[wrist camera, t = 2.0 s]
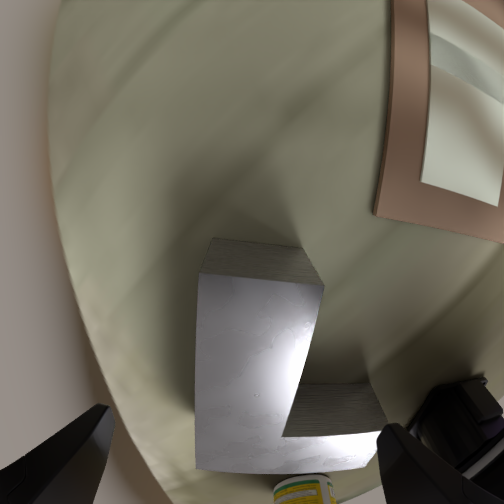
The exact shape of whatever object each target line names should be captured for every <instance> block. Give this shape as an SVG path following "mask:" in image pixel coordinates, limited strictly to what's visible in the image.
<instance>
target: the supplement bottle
mask: <svg viewBox="0 0 504 504" xmlns="http://www.w3.org/2000/svg"><path fill="white" fill-rule="evenodd" d="M274 504H336V499H335V494H334V490H333V486H332V482H331V480H330V479H329V478H328V477H326V476H323V475H303V476H296V477H292V478H288V479H286V480H284V481H282V482H280V483H279V484H277V485H276V487H275V488H274Z"/></svg>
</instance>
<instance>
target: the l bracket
mask: <svg viewBox="0 0 504 504" xmlns="http://www.w3.org/2000/svg"><path fill="white" fill-rule="evenodd" d="M323 290H324V284H323V282H322V280H321V279H320V277H319V275H318V273H317V272H316V270H315V268H314V266H313V265H312V263H311V261H310V259H309V258H308V256H307V254H306V253H305V251H304V249H303V248H296V247H287V246H278V245H270V244H261V243H252V242H243V241H234V240H225V239H216V238H213V239H212V242H211V244H210V247H209V249H208V251H207V254H206V256H205V259H204V261H203V264H202V266H201V269H200V271H199V281H198V300H197V322H196V353H195V457H196V469H202V470H210V471H220V472H232V473H249V474H301V473H318V472H330V471H339V470H348V469H355V468H362V467H365V466H366V464H367V463H368V462H369V460H370V459H371V458H372V456H373V455H374V454H375V452H376V451H377V446H376V440H377V437H378V435H379V434H380V432H381V431H382V429H383V428H384V426H385V425H386V424H389V423H388V421H387V418H386V416H385V414H384V412H383V410H382V408H381V405H380V403H379V401H378V399H377V397H376V395H375V393H374V391H373V388H372V386H371V384H370V383H358V384H299V381H300V377H301V374H302V370H303V367H304V363H305V360H306V356H307V353H308V349H309V346H310V342H311V338H312V334H313V331H314V327H315V323H316V319H317V315H318V311H319V307H320V303H321V299H322V295H323Z"/></svg>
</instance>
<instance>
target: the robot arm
mask: <svg viewBox="0 0 504 504" xmlns="http://www.w3.org/2000/svg"><path fill="white" fill-rule="evenodd" d="M487 382H488V380H487V379H486V378H485V377H482V378H478V379H473V380H468V381H463V382H458V383H453V384H447V385H441V386H437V387H435V388H434V389H433V390H432V392H431V393H430V395H429V397H428V398H427V400H426V402H425V403H424V405H423V406H422V408H421V410H420V411H419V413H418V414H417V416H416V417H415V419H414V420H413V422H412V423H411V425H410V426H409V428H408V429H407V430H406V429H404V428H403V427H402V426H401V425H400V424H398V423H389V424H386V425H385V426H384V428H383V429H382V431H381V432H380V434H379V435H378V437H377V440H376V446H377V453H378V461H379V469H380V476H381V482H382V486H383V490H384V494H385V499H386V503H387V504H504V418H503V417H502V414H503V409H502V407H501V406H500V405H499V403H498V402H497V401H496V400H495V398H494V397H493V396H492V395H491V393H490V392H489V391H488V390H487V388H486V387H485V386H486V384H487ZM114 428H115V419H114V416H113V413H112V409H111V407H110V406H109V405H105V404H102V403H98V404H96V405H94V406H93V407H92V408H90V409H89V410H87V411H86V412H85V413H83V414H82V415H81V416H79V417H78V418H77V419H75V420H74V421H72V422H71V423H69V424H68V425H67V426H66V427H64V428H63V429H61V430H60V431H58V432H57V433H55V434H54V435H53V436H51V437H50V438H48V439H47V440H46V441H44V442H43V443H41V444H40V445H38V446H37V447H36V448H34V449H33V450H31V451H30V452H28V453H27V454H25V456H22V457H21V458H20V459H18V460H16V461H15V462H13V463H12V464H10V465H9V466H7V467H5V468H3V469H1V470H0V504H93V501H94V498H95V495H96V492H97V489H98V486H99V483H100V481H101V478H102V475H103V472H104V469H105V466H106V463H107V459H108V454H109V450H110V445H111V440H112V437H113V432H114Z"/></svg>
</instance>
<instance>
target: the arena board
mask: <svg viewBox="0 0 504 504" xmlns="http://www.w3.org/2000/svg"><path fill="white" fill-rule="evenodd" d="M373 215H374V216H377V217H382V218H388V219H393V220H399V221H404V222H409V223H414V224H419V225H424V226H429V227H434V228H438V229H443V230H448V231H452V232H457V233H461V234H465V235H470V236H474V237H478V238H482V239H487V240H491V241H495V242H499V243H503V244H504V0H391V69H390V88H389V101H388V113H387V123H386V132H385V141H384V148H383V156H382V163H381V170H380V176H379V182H378V188H377V194H376V200H375V205H374V210H373Z"/></svg>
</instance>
